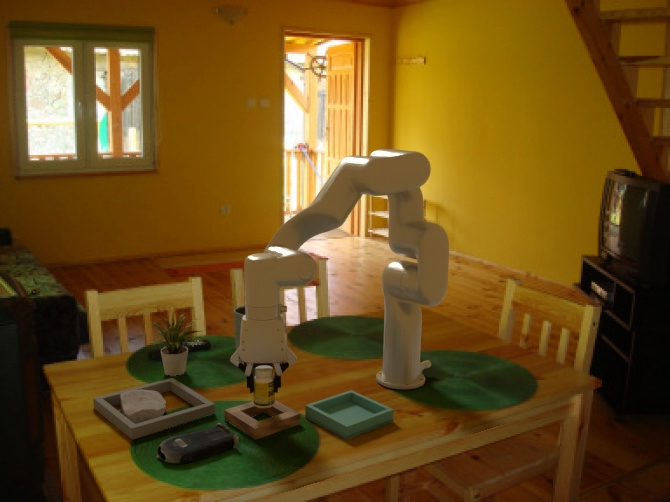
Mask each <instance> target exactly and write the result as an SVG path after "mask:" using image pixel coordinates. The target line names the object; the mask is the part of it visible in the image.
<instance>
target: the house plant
mask: <svg viewBox="0 0 670 502" xmlns="http://www.w3.org/2000/svg"><path fill="white" fill-rule="evenodd" d="M184 315H185V312H184V313H182V314H180V316H179V317H178V318H177V321H176V323H175V311H173V312H172V315H171V323H170V320H168V319H167V317H165V316H163V317H164V320H162V319H160V318H159V320H160V321H162V322H163V323H164V324H165V327H166V329H167V330H165V329H164V327H163V326H162V325H161V324H160V323H159V322H158V321H156V320H154V321H151V325H153V326H155V327H156V328H157V329H158V330H159V331H158V332H157V333H158V334H159V335H160V336H161V337H163V339H165V341H166V342H163V341H162V339H161V340H160V339H158V338H154V339H153V340H152V341H151V344H153V345H152V347H153V346H155V345H157V344H164V347H163V348H161V349H160V355H161V360H162V364H163V370H164V375H166V376H168V375H170V376H169V377H177V376H176V375H180V376H182V375H181V374H183V373H184V372H185V373H186V368H187V360H188V354H189V348H188V347H187V346H184V344H185V343H195V344H197V343H196V341H195V340H197V341H200V339H199V338H198V337H197V336H194V335H193V336H190V335H191V334H195V333H202V332H204V331H202V330H190V329H192V328H191V327H194V326H196V325H194V324H192V323H193V322H194V321H195V322H196V321H197V320H198V318H195V319H192V320H191V321H190V322H189V323H187V324H186V326H184V327H183V328H181V327H182V325H183V322H184V319H185V318H186V317H187V316H188V313H187V314H186V315H185V316H184ZM156 319H157V320H158V318H156ZM164 321H165V322H164ZM145 325H149V323H148V322H147V323H145ZM194 339H195V340H194ZM185 373H184V374H185ZM184 374H183V375H184Z"/></svg>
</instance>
